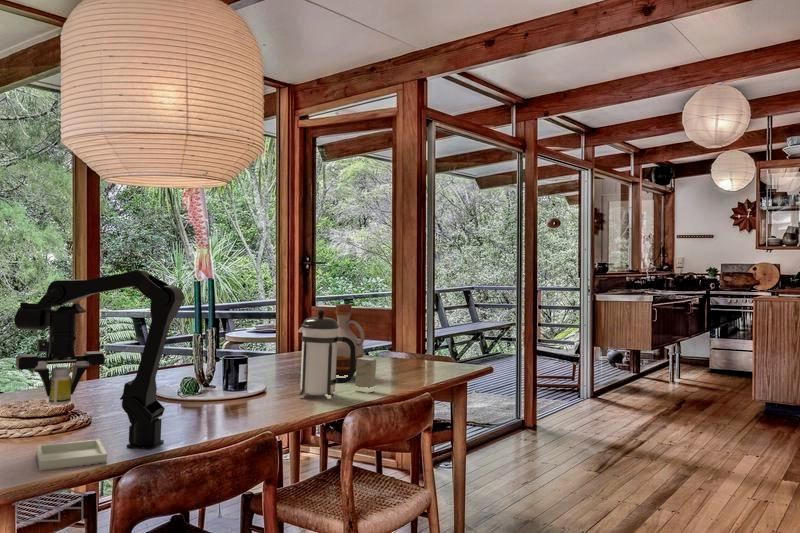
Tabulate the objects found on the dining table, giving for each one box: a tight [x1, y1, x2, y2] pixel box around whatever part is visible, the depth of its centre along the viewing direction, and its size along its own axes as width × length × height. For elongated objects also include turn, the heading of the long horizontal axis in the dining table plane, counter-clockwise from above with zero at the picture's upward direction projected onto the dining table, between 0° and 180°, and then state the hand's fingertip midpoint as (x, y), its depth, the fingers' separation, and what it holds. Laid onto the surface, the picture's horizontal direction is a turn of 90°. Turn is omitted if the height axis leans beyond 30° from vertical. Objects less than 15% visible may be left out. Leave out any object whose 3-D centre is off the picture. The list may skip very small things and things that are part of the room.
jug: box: [335, 304, 365, 376], centre depth 260 cm, size 20×18×30 cm
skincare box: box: [354, 356, 377, 388], centre depth 233 cm, size 6×4×12 cm
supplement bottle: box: [48, 366, 72, 405], centre depth 156 cm, size 5×5×8 cm
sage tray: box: [35, 438, 108, 472], centre depth 143 cm, size 13×13×2 cm
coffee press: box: [297, 309, 356, 396], centre depth 222 cm, size 17×16×30 cm
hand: (59, 395), depth 156 cm, fingers closed on supplement bottle, 5 cm apart
